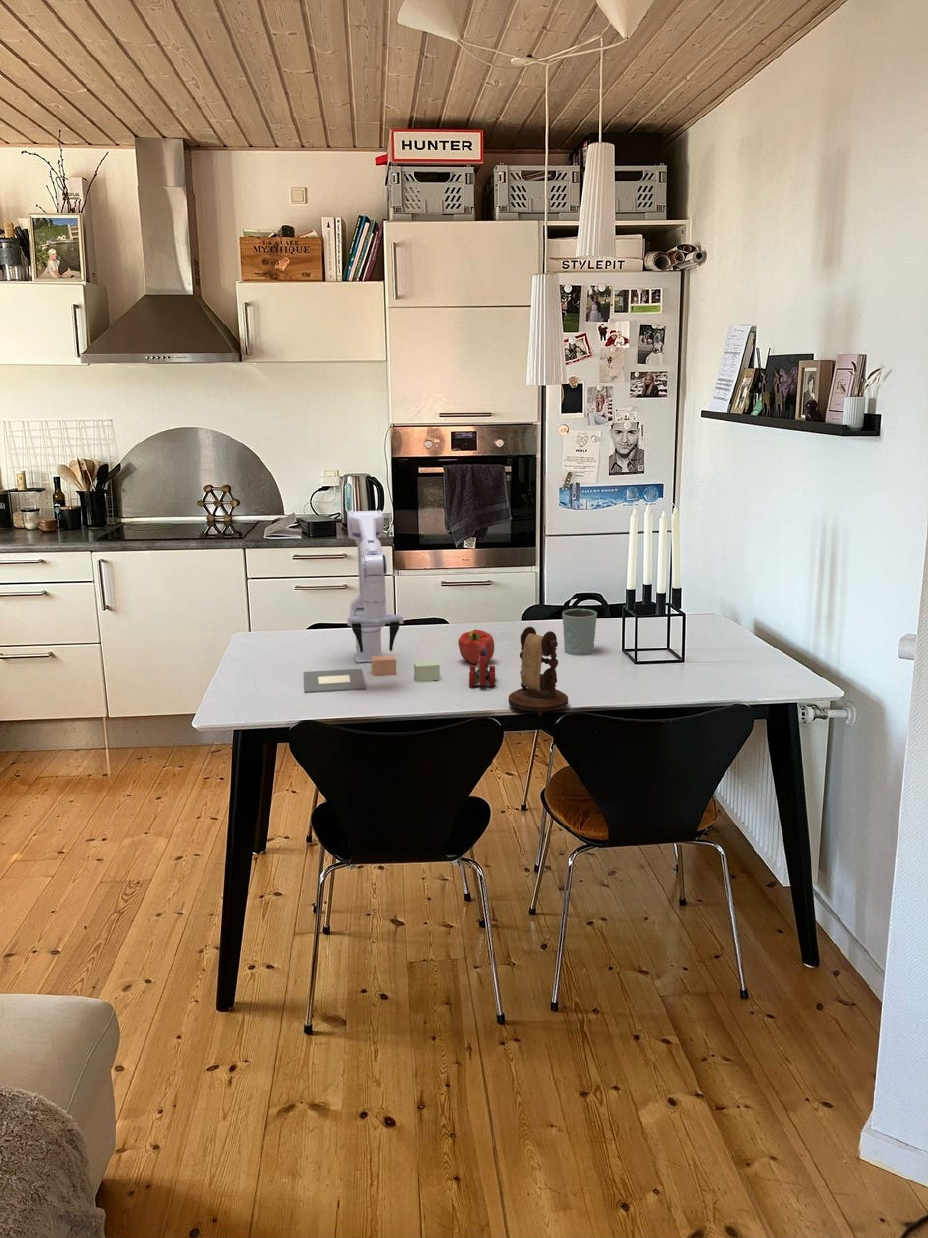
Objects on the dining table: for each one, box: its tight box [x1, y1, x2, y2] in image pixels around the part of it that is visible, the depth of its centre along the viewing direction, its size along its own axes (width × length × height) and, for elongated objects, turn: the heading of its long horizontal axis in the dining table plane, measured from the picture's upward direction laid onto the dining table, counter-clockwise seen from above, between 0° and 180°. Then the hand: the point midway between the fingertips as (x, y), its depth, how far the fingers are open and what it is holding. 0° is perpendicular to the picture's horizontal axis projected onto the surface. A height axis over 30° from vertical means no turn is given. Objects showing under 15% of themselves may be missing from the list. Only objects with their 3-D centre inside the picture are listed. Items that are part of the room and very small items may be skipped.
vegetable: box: [457, 629, 495, 665], centre depth 285 cm, size 11×10×10 cm
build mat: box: [303, 668, 367, 694], centre depth 270 cm, size 18×16×1 cm
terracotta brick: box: [371, 654, 397, 677], centre depth 276 cm, size 4×6×4 cm
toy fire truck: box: [468, 642, 496, 687], centre depth 265 cm, size 7×12×10 cm, turn 178°
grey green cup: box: [561, 608, 598, 656], centre depth 294 cm, size 10×10×12 cm
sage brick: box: [413, 660, 441, 682], centre depth 270 cm, size 4×6×4 cm
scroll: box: [508, 626, 569, 717], centre depth 245 cm, size 15×15×20 cm
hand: (376, 650), depth 262 cm, fingers open, 7 cm apart
